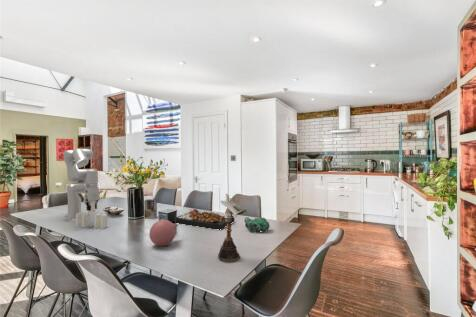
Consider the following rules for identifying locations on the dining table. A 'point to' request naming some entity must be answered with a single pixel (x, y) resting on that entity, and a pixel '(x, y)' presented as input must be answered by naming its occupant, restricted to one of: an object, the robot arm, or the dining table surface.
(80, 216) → the domino
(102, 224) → the domino
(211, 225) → the food platter
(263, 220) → the mineral
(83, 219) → the domino
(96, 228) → the track board
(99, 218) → the domino
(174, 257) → the dining table surface
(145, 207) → the coffee box
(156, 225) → the dusty pink rubber ball
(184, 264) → the dining table surface
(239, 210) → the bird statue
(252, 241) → the dining table surface
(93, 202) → the domino
